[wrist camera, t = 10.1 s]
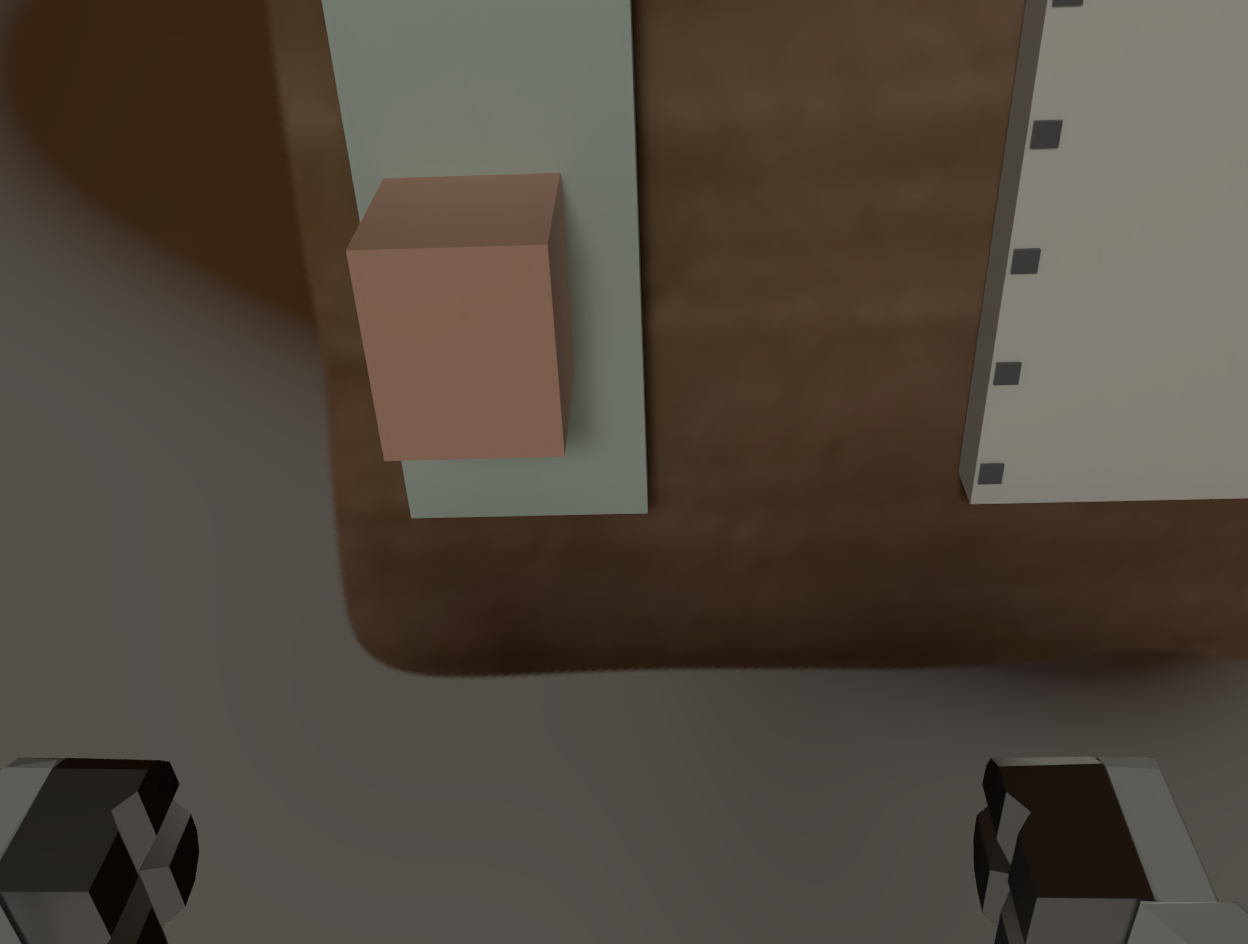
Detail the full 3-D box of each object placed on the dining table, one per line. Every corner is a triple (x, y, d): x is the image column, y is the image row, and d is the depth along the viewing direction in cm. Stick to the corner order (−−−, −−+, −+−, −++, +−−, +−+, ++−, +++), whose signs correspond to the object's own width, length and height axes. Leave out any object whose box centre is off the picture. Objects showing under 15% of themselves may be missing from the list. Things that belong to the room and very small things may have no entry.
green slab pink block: (629, -60, 25) (625, 0, 21) (648, 481, 33) (647, 611, 29) (331, -48, 26) (262, 14, 21) (420, 486, 33) (384, 616, 29)
